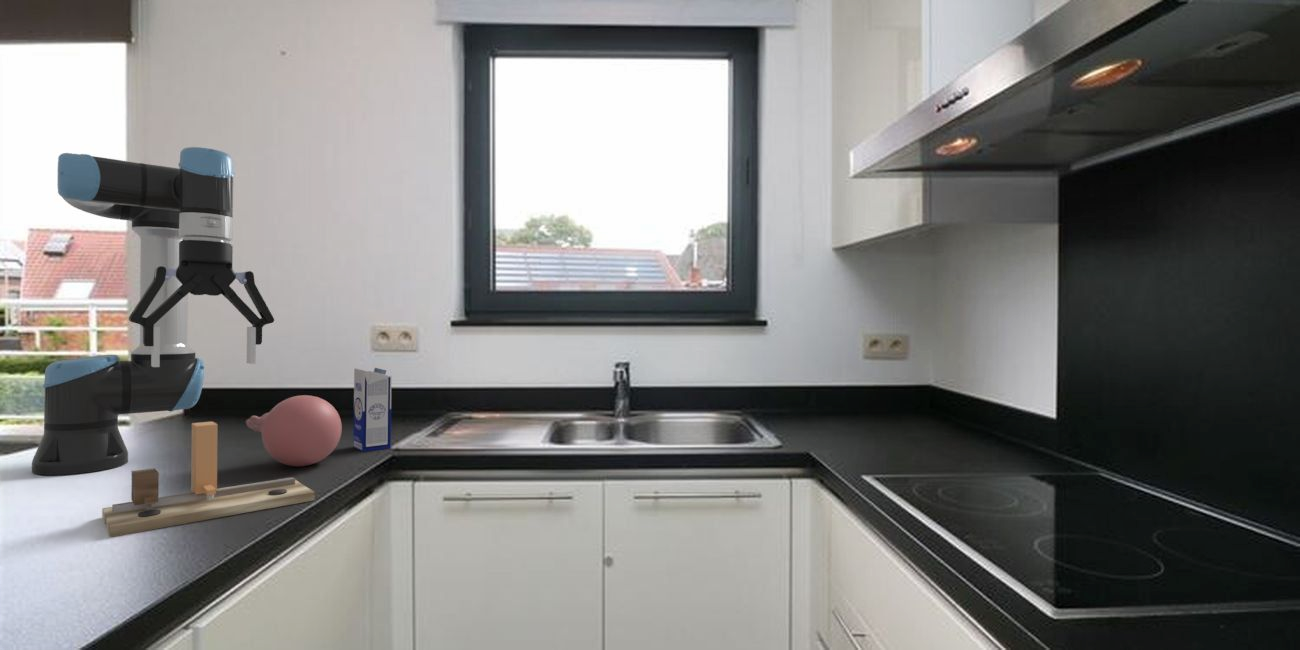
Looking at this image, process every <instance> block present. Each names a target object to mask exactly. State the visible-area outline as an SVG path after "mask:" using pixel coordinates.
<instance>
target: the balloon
mask: <svg viewBox="0 0 1300 650" xmlns="http://www.w3.org/2000/svg"><path fill="white" fill-rule="evenodd" d="M245 424H246V425H247V427H248V428H249V429H250V430H253V431H254V432H255V433H259V432H260V433H261V440H262V444H263V447H264V448H265V450H266V452H267V453H268V454H269V455H270V456H271V457H272V458H273V459H275V460H276V461H277V462H278V463H281V464H283V465H287V466H290V467H291V466H292V467H306V466H311V465H314V464H316V463H319V462H321V461H322V460H325V458H327V457H328V456H330V454H332V452H333V451H334V450H335V449H336V448H337V446H338V444H339V443H340V440H341V436H342V432H343V431H342V430H343V429H342V428H343V426H342V420H341V417H340V414H339V412H338V411H337V410H336V408H335V407H334V406H333V404H331V403H330V402H328V401H327V400H325V399H323V398H321V397H318V396H313V395H309V394H308V395H307V394H304V395H302V394H301V395H296V396H295V395H294V396H291V397H288V398H285V399H284V400H282V401H280V402H279V403H277V404H276V405H275V406H274V407H273V408H271V409H270V410H269V412H266V413H264V414H262V415H260V416H258V415H251V416H250V417H249V418H248V419H246V420H245Z"/></svg>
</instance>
